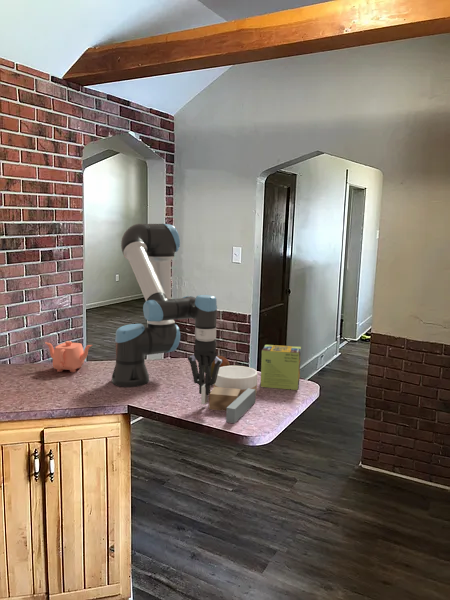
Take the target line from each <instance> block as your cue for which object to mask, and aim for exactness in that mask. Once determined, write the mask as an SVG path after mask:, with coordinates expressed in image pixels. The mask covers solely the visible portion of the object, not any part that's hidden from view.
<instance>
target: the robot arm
mask: <svg viewBox="0 0 450 600" xmlns="http://www.w3.org/2000/svg"><path fill="white" fill-rule="evenodd" d="M120 242H121V243H120V247H121V252H122V255H123V257H124V258H125V259H126V260H128V263H129V264H130V267H131V268H132V269H131V270H132V272H133V273H134V276H135V279H136V281H137V283H138V285H139V286H138V287H139V288H140V290H141V292H142V293H141V294H142V295H143V298H144V300H145V302H144V303H143V306H142V311H143V316H144V319H145V320H146V326H145V325H144V324H142V323H135V324H134V323H130V324H126V325H125V324H124V325H123V326H120V327H118V328H117V329H116V330H115V339H114V342H115V366H114V367H113V368H114V369H113V371H112V375H111V383H112V385H114V386H118V387H123V388H124V387H125V388H128V387H129V388H131V387H133V388H134V387H140V386H144V385H146V384H147V383H149V381H150V375H149V372H148V369H147V366H146V363H145V362H146V361H145V357H146V356H148V355H149V356H150V355H158V354H159V355H160V354H167V353H170V352H174V351H176V350H177V348H178V347H179V344H180V342H181V331H180V327H179V326H178V325H177V324H176V322H175V320H184V319H185V320H186V319H192V320H194V327H195V328H194V338H195V340H194V352H193V354H192V355H190V356H189V357H187V360H188V362H189V364H190V367H191V373H192V378H193V382H194V384H197V385H198V390H199V392H198V394H200V396H201V397H200V399H201V401H200V404H201V405H207V403H208V402H209V394H210V392H211V387H212V386H213V385H214V384H215V383H216V379H217V375H218V371H219V368H220V365H221V363H222V362H223V360H222V359H219V358H218V357H217V356H218V354H217V351H216V350H217V340H216V338H217V320H218V319H217V317H218V316H217V313H218V305H217V297H216V296H215V295H211V294H200V295H199V294H198V295H196V296H192V295H191V296H189V295H185V296H183V297H180V298H172V267H171V266H172V263H171V262H172V260H173V259H174V258H175V254H176V253H177V252H178V251H179V249H180V247H181V245H180V244H181V239H180V235H179V232H178V230H177V228H176V227H175V226H174V225H172V224H169V223H136V224H133V225H131V226H130V227H128V228H127V229H126V231H125V232H124V233H123V235H122V237H121V241H120ZM214 360H215V366H214V370H213V373H212V377H211V366H212V363H213V361H214ZM197 363H198V364H197Z"/></svg>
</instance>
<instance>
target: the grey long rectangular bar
mask: <svg viewBox="0 0 450 600" xmlns="http://www.w3.org/2000/svg"><path fill="white" fill-rule="evenodd" d="M256 395H257V394H256V389H250V388H248V389H247V390H246V391H244V392H243V393H242V394H241V395H240V396H239V397H238V398H237V399H236V400H235V401H233V402H232V403H231V404H230V405H229V406H228V407H227V411H225V412H226V413H225V414H226V420H225V422H226V423H231V424H236V423H237V421H239V420H240V419H241V418H242V416H244V414H245V413H246V412H247V411H248V410H249V409H250V408H251V407H252V406H253V405H254V404H256Z"/></svg>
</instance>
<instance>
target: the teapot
mask: <svg viewBox="0 0 450 600" xmlns="http://www.w3.org/2000/svg"><path fill="white" fill-rule="evenodd" d="M44 343H45V345H47V346H48V350H49V355H50V358H51V359H52V367H53V369H54V370H56V372H57V373H58V372H59V373H60V372H63V371H64V370H66V371H67V370H69V373H77V369H82V366H83V365H84V364H85V360H86V359H87V358H88V354H89V350H90V348H91V347H93V344H87V345H86V346H85V348H84V347H83V344H82V342H81V343H80V342H73V341H71V340H66V341H64V342H62V343H60V344H57V345H56V346H55V348H54V346H53V344H52V343H50V342H48V341H46V342H44Z"/></svg>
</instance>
